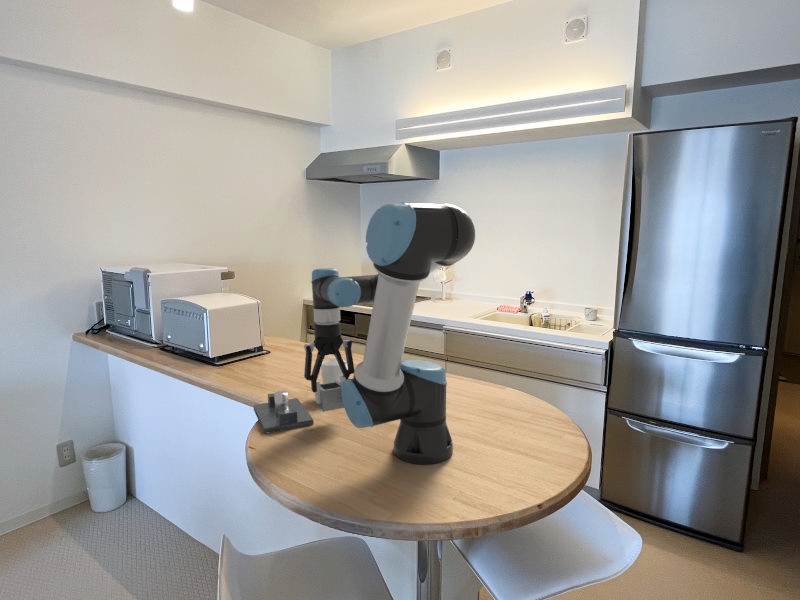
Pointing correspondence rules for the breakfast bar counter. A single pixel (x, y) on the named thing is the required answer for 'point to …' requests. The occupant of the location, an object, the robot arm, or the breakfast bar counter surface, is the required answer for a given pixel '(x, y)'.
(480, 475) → the breakfast bar counter surface
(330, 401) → the grey hollow block
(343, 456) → the breakfast bar counter surface
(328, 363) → the cup
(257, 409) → the shaft base
